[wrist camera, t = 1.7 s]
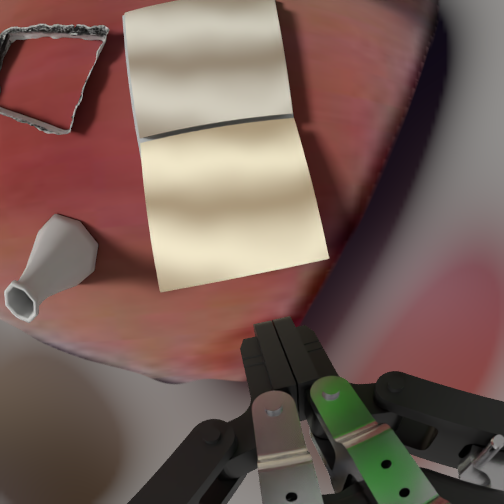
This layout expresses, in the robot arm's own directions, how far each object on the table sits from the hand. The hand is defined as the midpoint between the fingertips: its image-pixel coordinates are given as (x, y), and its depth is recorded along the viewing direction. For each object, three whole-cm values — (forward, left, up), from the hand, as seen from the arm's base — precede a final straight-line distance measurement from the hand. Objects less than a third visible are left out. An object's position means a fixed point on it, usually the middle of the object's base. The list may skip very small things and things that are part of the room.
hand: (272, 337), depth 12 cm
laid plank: (-14, 0, -15) cm, 21 cm away
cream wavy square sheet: (-3, 0, -12) cm, 13 cm away
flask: (-1, -17, -17) cm, 23 cm away
